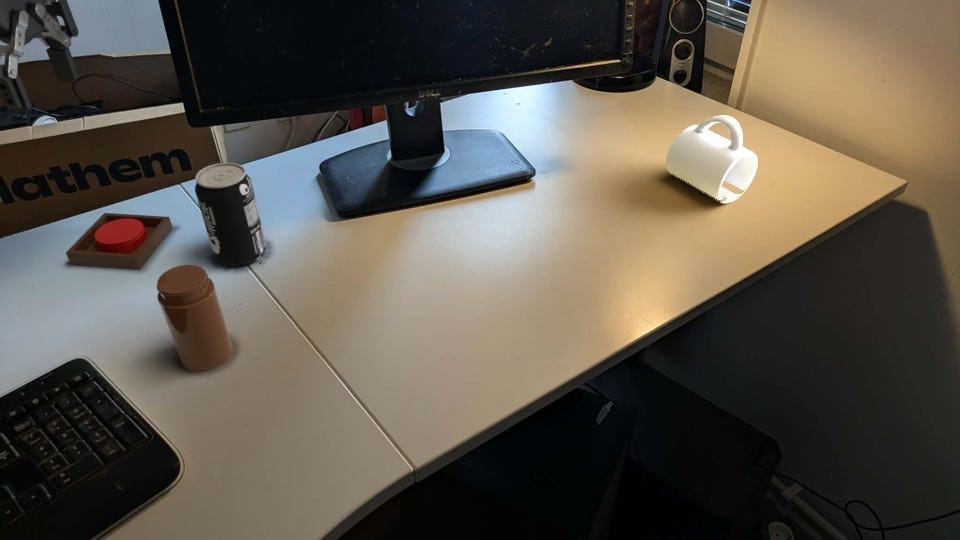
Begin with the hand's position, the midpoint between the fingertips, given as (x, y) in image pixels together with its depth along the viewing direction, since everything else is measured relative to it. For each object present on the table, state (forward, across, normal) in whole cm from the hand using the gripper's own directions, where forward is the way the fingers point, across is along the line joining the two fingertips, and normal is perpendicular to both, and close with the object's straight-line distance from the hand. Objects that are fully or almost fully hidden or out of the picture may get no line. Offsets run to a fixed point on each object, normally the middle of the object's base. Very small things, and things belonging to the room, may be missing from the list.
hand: (46, 94), depth 74 cm
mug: (+20, +26, -81) cm, 88 cm away
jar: (+22, -16, -21) cm, 34 cm away
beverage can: (+22, +2, -18) cm, 28 cm away
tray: (+22, +2, -2) cm, 22 cm away
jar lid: (+20, +2, -2) cm, 20 cm away
